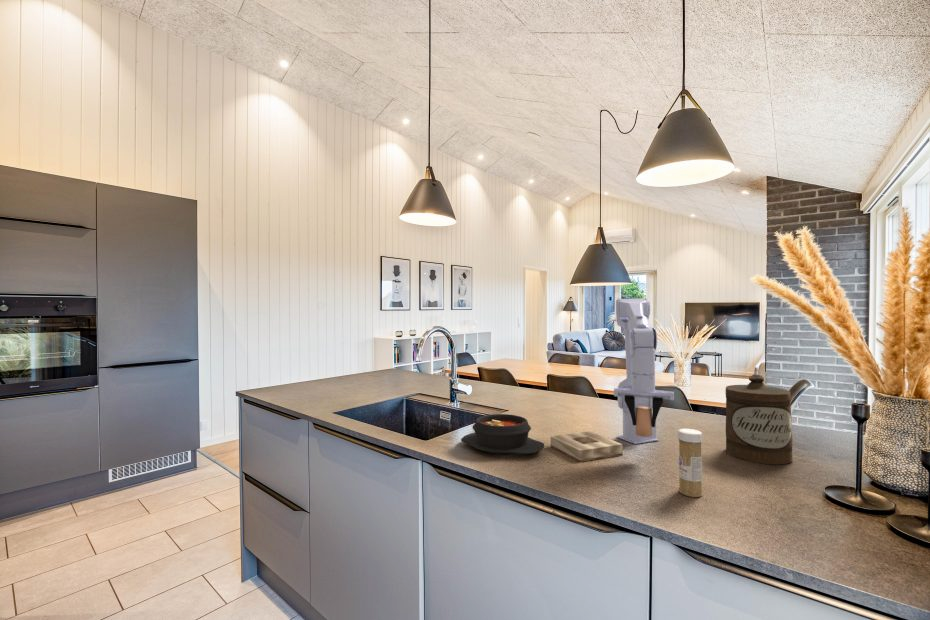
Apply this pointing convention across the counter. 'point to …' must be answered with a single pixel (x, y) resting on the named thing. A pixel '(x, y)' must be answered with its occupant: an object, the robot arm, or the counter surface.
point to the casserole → (502, 435)
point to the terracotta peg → (643, 421)
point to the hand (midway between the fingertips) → (643, 425)
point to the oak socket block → (586, 446)
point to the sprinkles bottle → (690, 462)
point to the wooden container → (759, 422)
